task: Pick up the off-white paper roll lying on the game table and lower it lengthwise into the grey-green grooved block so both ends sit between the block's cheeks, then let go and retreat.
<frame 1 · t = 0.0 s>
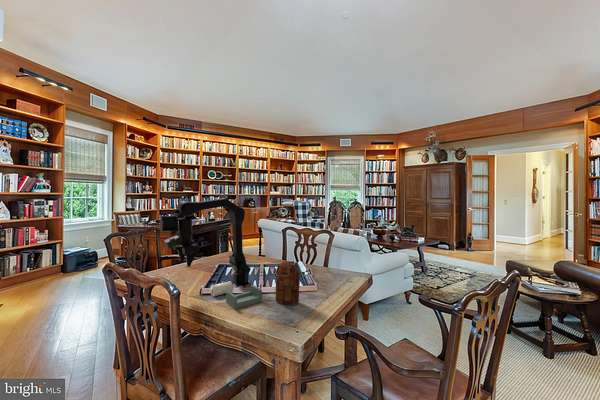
hand: (185, 264, 129), 15 cm above the table, fingers open, 9 cm apart
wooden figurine: (286, 302, 127), on the table
grey-green grooved block: (243, 301, 126), on the table
roll: (221, 294, 134), on the table
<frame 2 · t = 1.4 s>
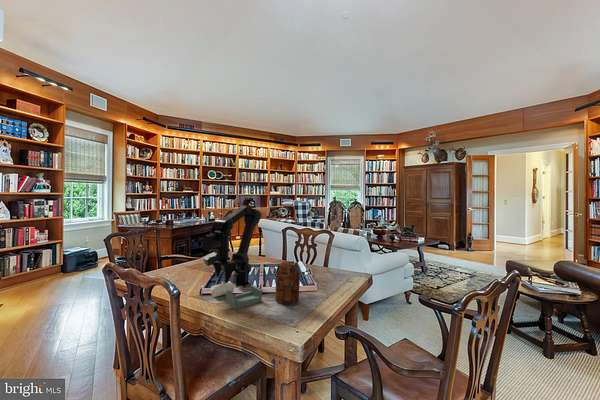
hand: (222, 279, 134), 7 cm above the table, fingers open, 9 cm apart
roll: (221, 293, 134), on the table, tilted 22°
everything else where it was.
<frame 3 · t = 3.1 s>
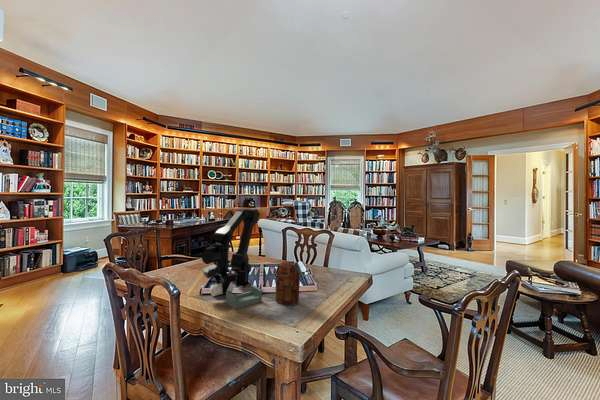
hand: (221, 291, 134), 1 cm above the table, fingers closed on roll, 5 cm apart
roll: (221, 293, 134), on the table, touching gripper
everything else where it was.
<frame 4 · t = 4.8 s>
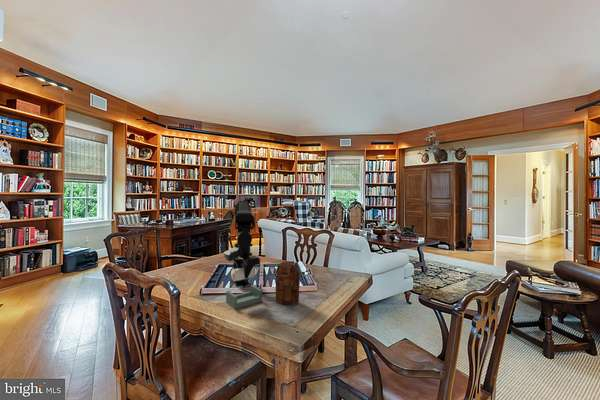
hand: (243, 276, 125), 11 cm above the table, fingers closed on roll, 5 cm apart
roll: (243, 279, 125), point 10 cm above the table, touching gripper
everything else where it was.
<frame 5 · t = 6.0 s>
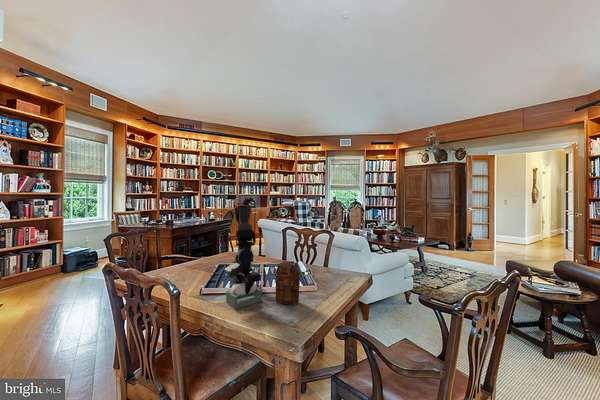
hand: (244, 291, 126), 4 cm above the table, fingers closed on roll, 5 cm apart
roll: (243, 294, 126), point 3 cm above the table, touching gripper
everything else where it was.
when the fingers open (3 cm above the table, at t = 7.0 s): roll drops 1 cm, resting on grey-green grooved block.
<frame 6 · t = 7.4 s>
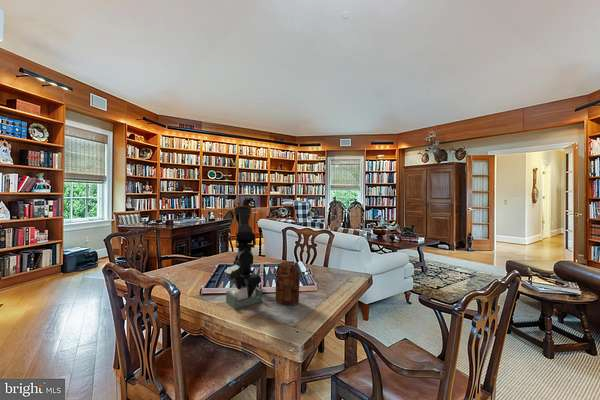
hand: (244, 294, 126), 3 cm above the table, fingers open, 9 cm apart
roll: (243, 299, 126), point 1 cm above the table, touching grey-green grooved block
everything else where it was.
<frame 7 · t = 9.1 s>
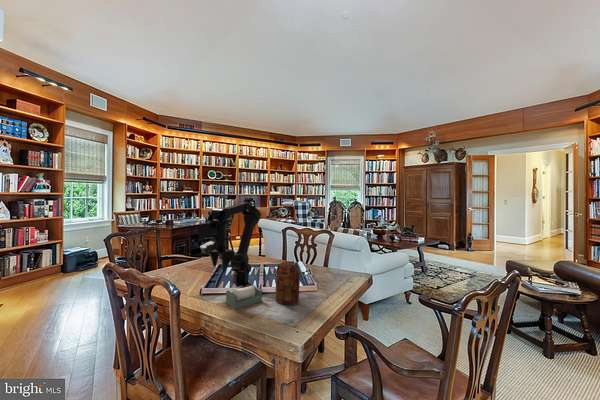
hand: (219, 268, 133), 12 cm above the table, fingers open, 9 cm apart
roll: (243, 299, 126), point 1 cm above the table, tilted 8°, touching grey-green grooved block
everything else where it was.
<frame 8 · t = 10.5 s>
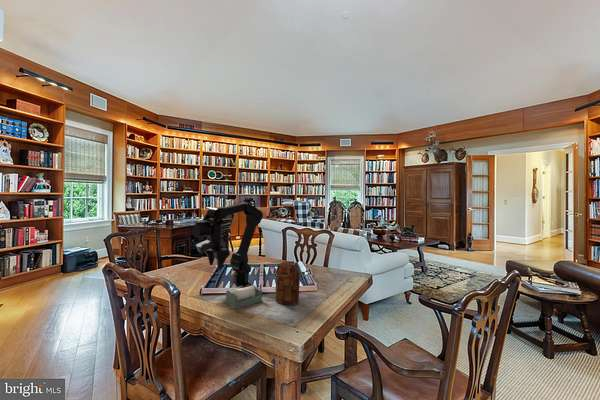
hand: (215, 267, 134), 12 cm above the table, fingers open, 9 cm apart
nothing on the table moved.
at the end: roll 0.1 cm off-centre on the grey-green grooved block, point 1.0 cm above the grey-green grooved block's base; roll touching grey-green grooved block; the gripper is holding nothing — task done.
